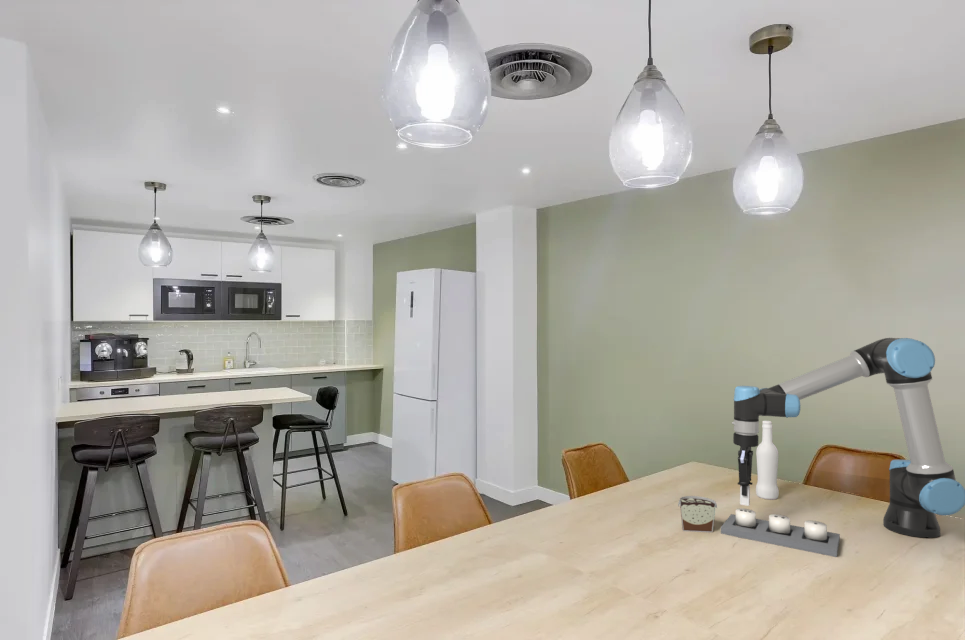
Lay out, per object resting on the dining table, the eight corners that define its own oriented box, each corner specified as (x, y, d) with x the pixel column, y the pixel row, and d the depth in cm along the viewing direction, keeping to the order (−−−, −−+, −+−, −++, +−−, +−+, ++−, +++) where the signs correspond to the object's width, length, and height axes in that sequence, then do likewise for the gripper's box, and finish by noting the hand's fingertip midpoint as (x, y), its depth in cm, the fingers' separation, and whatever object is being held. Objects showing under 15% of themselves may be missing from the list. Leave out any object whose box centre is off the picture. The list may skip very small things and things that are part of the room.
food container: (711, 525, 192) (711, 496, 192) (717, 532, 185) (717, 501, 186) (673, 524, 193) (674, 494, 193) (678, 530, 187) (678, 500, 187)
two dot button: (791, 529, 183) (791, 516, 183) (788, 534, 178) (788, 521, 178) (770, 525, 186) (770, 512, 186) (767, 530, 181) (767, 517, 181)
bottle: (782, 500, 221) (782, 422, 221) (761, 499, 221) (761, 422, 221) (772, 494, 229) (772, 419, 229) (752, 493, 229) (752, 419, 229)
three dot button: (757, 522, 188) (757, 510, 189) (753, 528, 184) (753, 515, 184) (737, 519, 192) (737, 506, 192) (733, 524, 187) (733, 511, 187)
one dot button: (827, 536, 177) (827, 522, 177) (826, 541, 172) (826, 528, 172) (805, 531, 181) (805, 518, 181) (803, 537, 176) (803, 523, 176)
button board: (839, 540, 179) (839, 533, 180) (836, 557, 166) (836, 550, 166) (731, 519, 198) (731, 514, 198) (720, 533, 185) (720, 527, 185)
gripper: (737, 428, 195) (736, 497, 195) (729, 434, 185) (728, 507, 185) (761, 431, 191) (760, 501, 191) (754, 437, 181) (753, 512, 180)
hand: (744, 504), depth 188 cm, fingers closed
